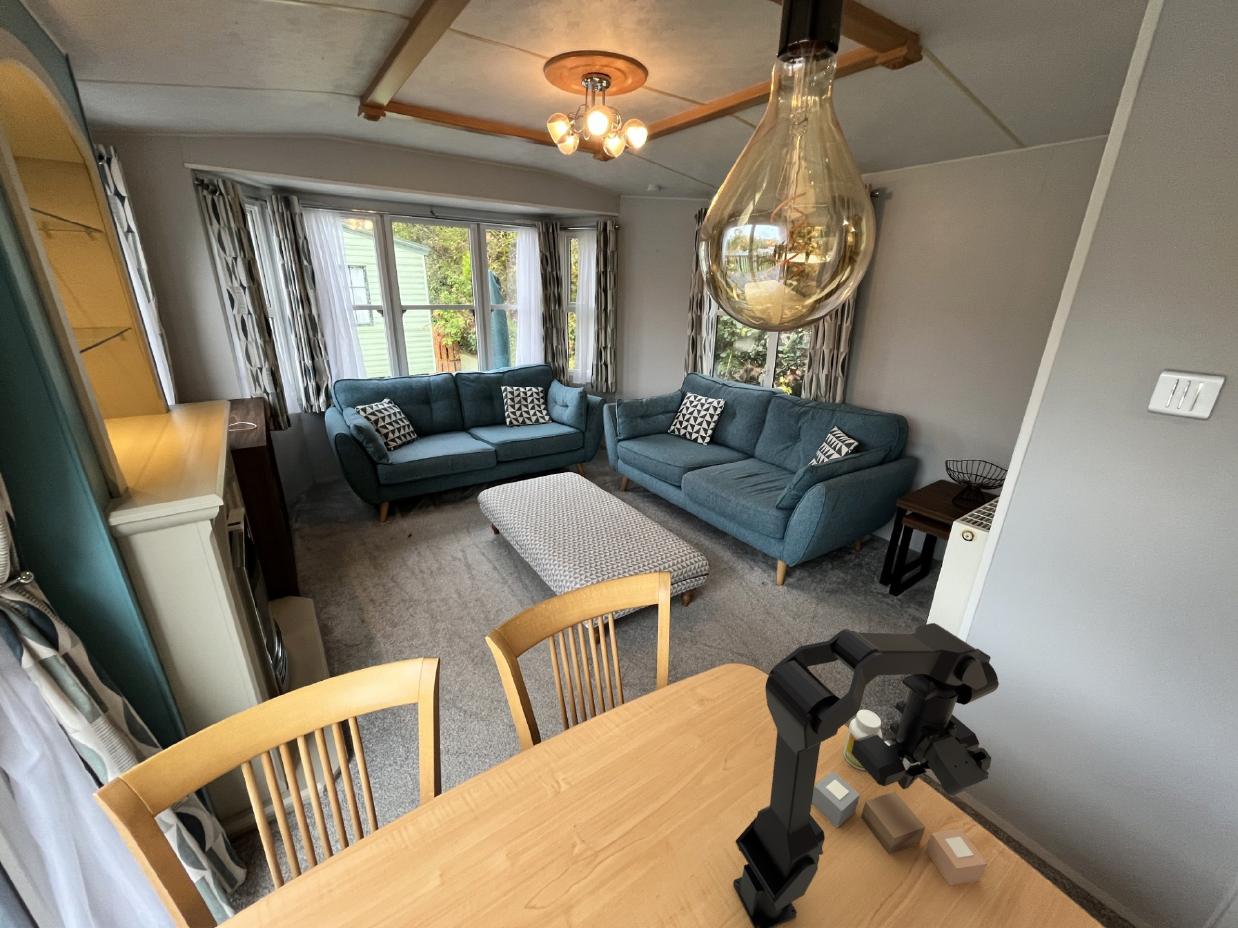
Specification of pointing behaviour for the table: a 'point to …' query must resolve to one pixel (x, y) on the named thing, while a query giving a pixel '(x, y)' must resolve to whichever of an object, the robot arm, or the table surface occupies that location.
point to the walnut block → (892, 822)
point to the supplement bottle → (861, 733)
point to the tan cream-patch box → (955, 857)
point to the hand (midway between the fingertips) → (902, 786)
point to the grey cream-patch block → (835, 798)
